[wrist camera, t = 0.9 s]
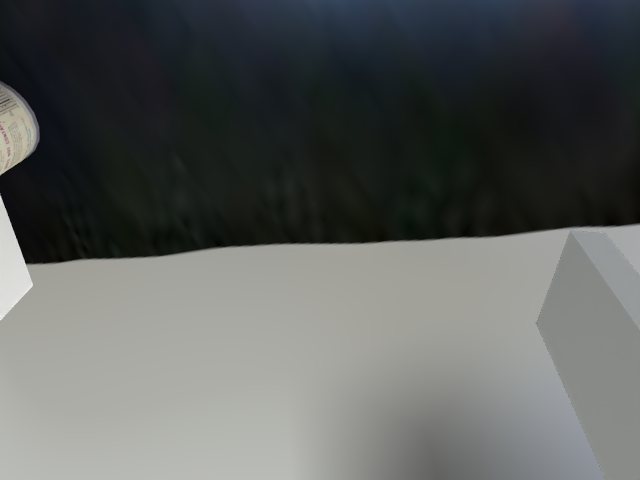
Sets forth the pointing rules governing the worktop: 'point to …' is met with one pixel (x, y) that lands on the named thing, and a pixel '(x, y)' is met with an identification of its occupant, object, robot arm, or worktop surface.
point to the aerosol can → (15, 128)
